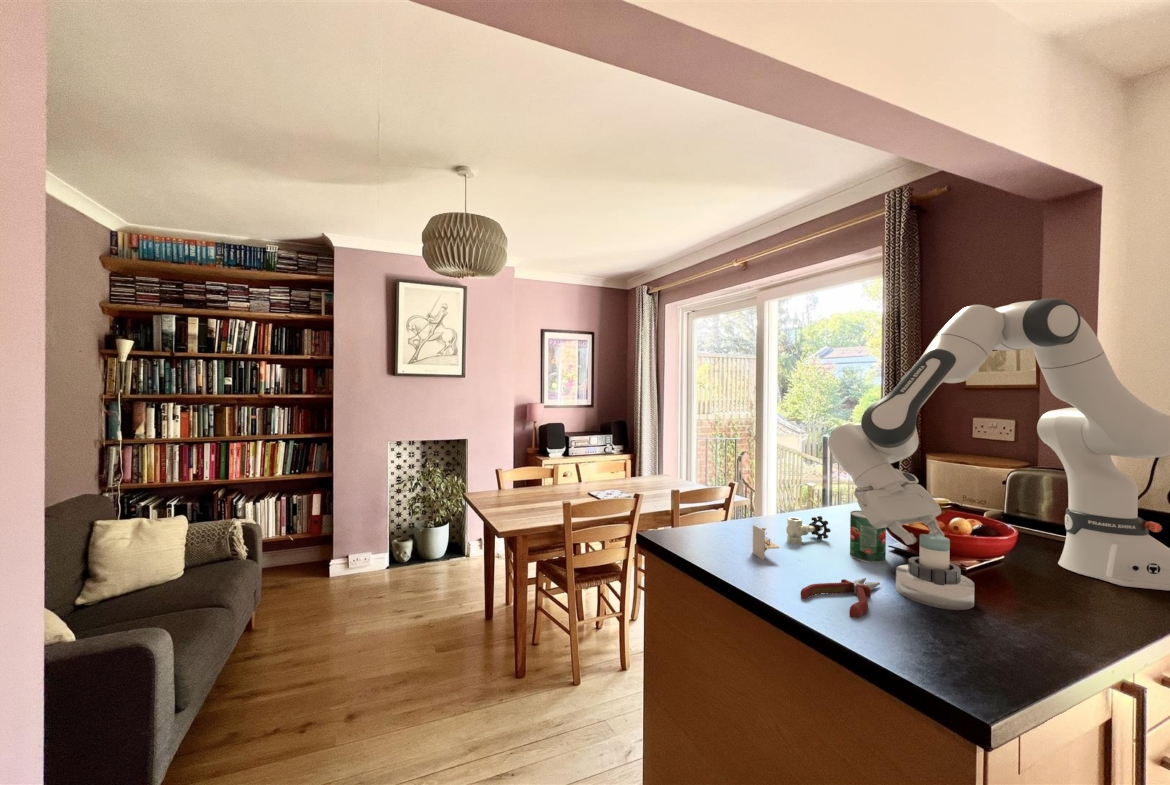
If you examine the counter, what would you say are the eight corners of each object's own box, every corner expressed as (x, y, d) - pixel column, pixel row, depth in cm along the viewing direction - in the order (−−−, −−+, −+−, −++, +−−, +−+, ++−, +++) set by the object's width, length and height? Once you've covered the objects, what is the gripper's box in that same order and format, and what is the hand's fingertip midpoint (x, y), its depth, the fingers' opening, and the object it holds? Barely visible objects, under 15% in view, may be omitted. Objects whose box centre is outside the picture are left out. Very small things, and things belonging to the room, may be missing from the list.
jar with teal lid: (945, 574, 98) (946, 536, 98) (952, 582, 93) (952, 542, 93) (917, 569, 100) (917, 532, 100) (921, 578, 95) (922, 539, 95)
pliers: (902, 595, 97) (902, 583, 97) (857, 622, 86) (857, 608, 86) (845, 578, 107) (845, 566, 107) (797, 600, 95) (797, 587, 95)
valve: (798, 547, 127) (830, 542, 131) (798, 522, 127) (830, 519, 131) (779, 539, 133) (811, 535, 137) (780, 516, 133) (811, 513, 137)
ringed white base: (960, 585, 102) (960, 553, 102) (983, 615, 88) (983, 578, 88) (889, 574, 108) (890, 544, 108) (901, 601, 94) (901, 566, 94)
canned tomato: (893, 563, 115) (893, 518, 115) (860, 562, 115) (861, 518, 115) (873, 552, 123) (874, 510, 123) (843, 551, 123) (844, 510, 123)
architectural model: (764, 552, 122) (764, 524, 122) (779, 562, 115) (779, 531, 115) (752, 552, 122) (752, 524, 122) (766, 562, 115) (766, 532, 115)
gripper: (860, 480, 101) (906, 538, 92) (919, 474, 109) (966, 527, 100) (841, 496, 105) (883, 554, 96) (899, 489, 113) (943, 542, 104)
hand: (926, 540), depth 98 cm, fingers open, 8 cm apart
